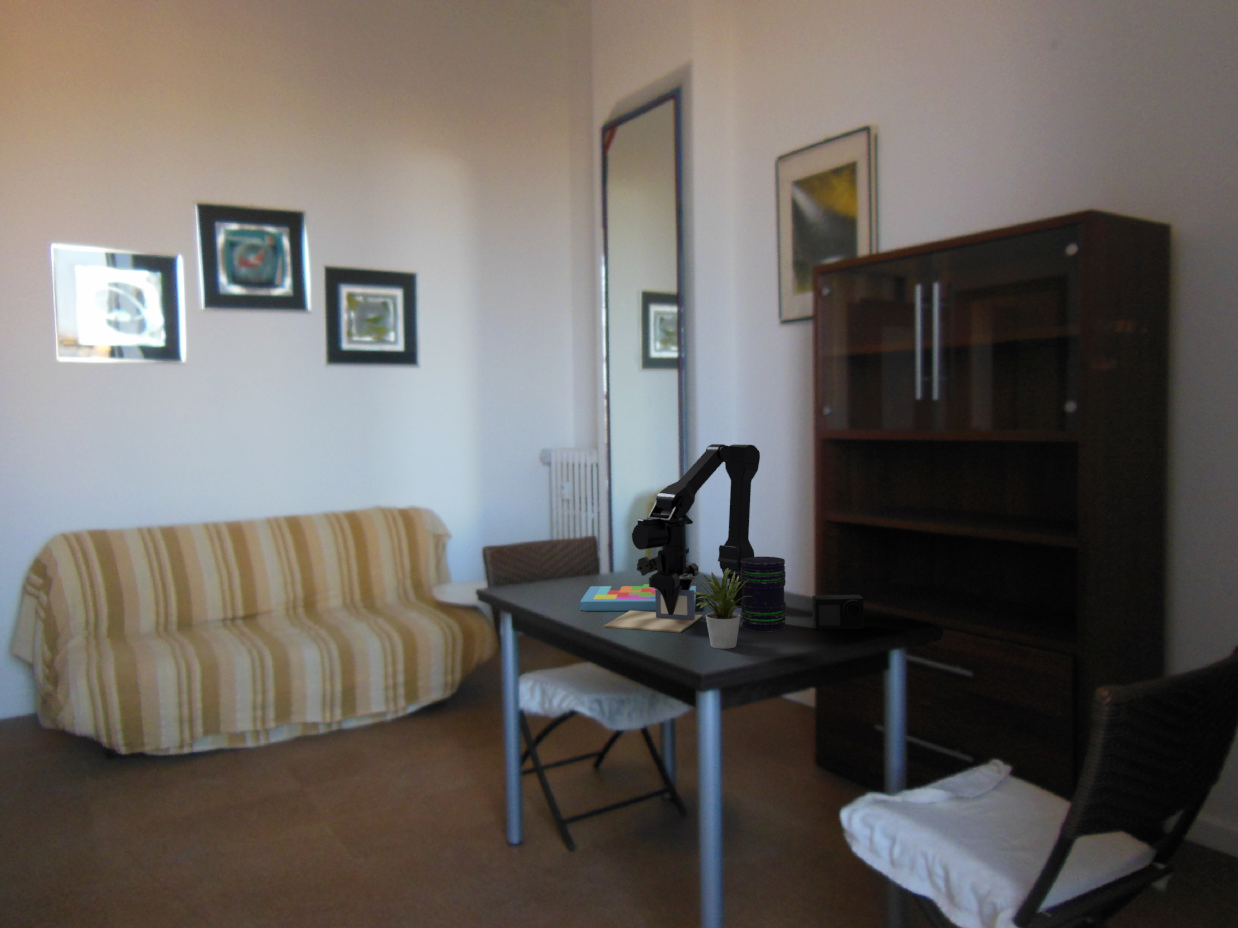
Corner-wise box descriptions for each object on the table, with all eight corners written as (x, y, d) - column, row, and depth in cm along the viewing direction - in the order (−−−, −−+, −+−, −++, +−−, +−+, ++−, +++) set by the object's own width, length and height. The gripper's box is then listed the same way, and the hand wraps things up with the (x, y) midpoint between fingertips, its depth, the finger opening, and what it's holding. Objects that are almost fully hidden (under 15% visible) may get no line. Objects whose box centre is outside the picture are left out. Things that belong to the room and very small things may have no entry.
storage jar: (786, 622, 202) (785, 556, 201) (786, 632, 193) (785, 563, 192) (742, 621, 204) (741, 556, 203) (740, 631, 194) (738, 563, 194)
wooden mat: (701, 616, 210) (701, 614, 210) (680, 632, 195) (680, 630, 195) (630, 611, 216) (630, 610, 216) (604, 627, 202) (604, 625, 202)
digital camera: (816, 632, 193) (816, 600, 192) (812, 626, 198) (811, 594, 198) (865, 631, 192) (865, 599, 192) (859, 625, 198) (859, 594, 197)
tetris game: (695, 612, 217) (696, 590, 244) (694, 601, 216) (696, 579, 244) (580, 612, 219) (594, 590, 247) (580, 601, 219) (594, 580, 247)
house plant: (690, 634, 193) (688, 559, 192) (755, 635, 190) (753, 559, 190) (684, 652, 179) (682, 571, 178) (754, 653, 176) (753, 571, 176)
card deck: (694, 618, 206) (694, 590, 206) (692, 619, 205) (692, 591, 204) (658, 615, 210) (657, 588, 209) (655, 617, 208) (655, 589, 208)
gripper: (654, 538, 218) (656, 601, 219) (626, 549, 201) (628, 618, 202) (698, 539, 214) (699, 604, 215) (673, 551, 197) (674, 621, 197)
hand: (675, 611), depth 207 cm, fingers open, 6 cm apart
